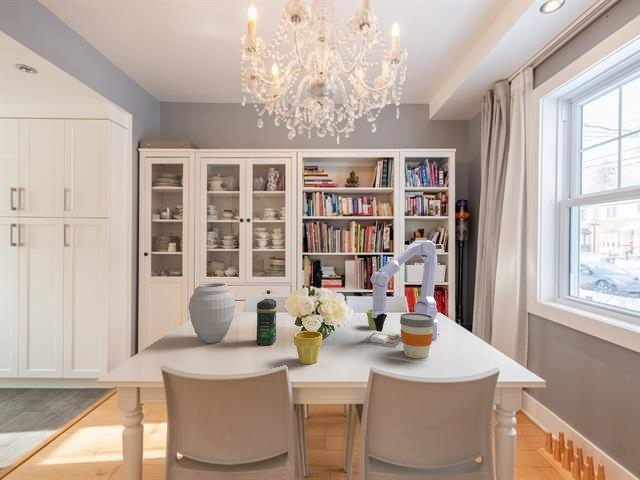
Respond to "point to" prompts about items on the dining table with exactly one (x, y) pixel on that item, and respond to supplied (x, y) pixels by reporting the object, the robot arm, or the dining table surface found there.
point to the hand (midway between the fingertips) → (379, 331)
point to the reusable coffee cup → (416, 334)
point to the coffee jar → (266, 322)
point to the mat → (368, 341)
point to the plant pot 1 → (308, 346)
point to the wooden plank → (393, 339)
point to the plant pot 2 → (370, 320)
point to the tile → (379, 338)
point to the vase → (211, 311)
